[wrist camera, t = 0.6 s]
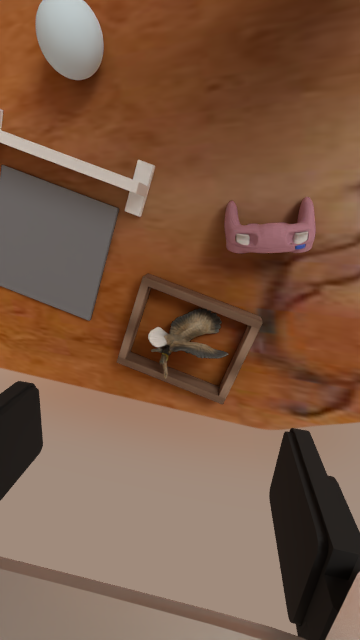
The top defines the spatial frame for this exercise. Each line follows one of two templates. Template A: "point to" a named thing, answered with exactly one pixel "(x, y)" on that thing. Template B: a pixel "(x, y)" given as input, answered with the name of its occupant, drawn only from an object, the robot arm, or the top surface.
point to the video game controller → (271, 232)
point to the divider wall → (91, 169)
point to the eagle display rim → (174, 375)
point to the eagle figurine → (187, 336)
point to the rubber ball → (70, 37)
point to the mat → (52, 242)
